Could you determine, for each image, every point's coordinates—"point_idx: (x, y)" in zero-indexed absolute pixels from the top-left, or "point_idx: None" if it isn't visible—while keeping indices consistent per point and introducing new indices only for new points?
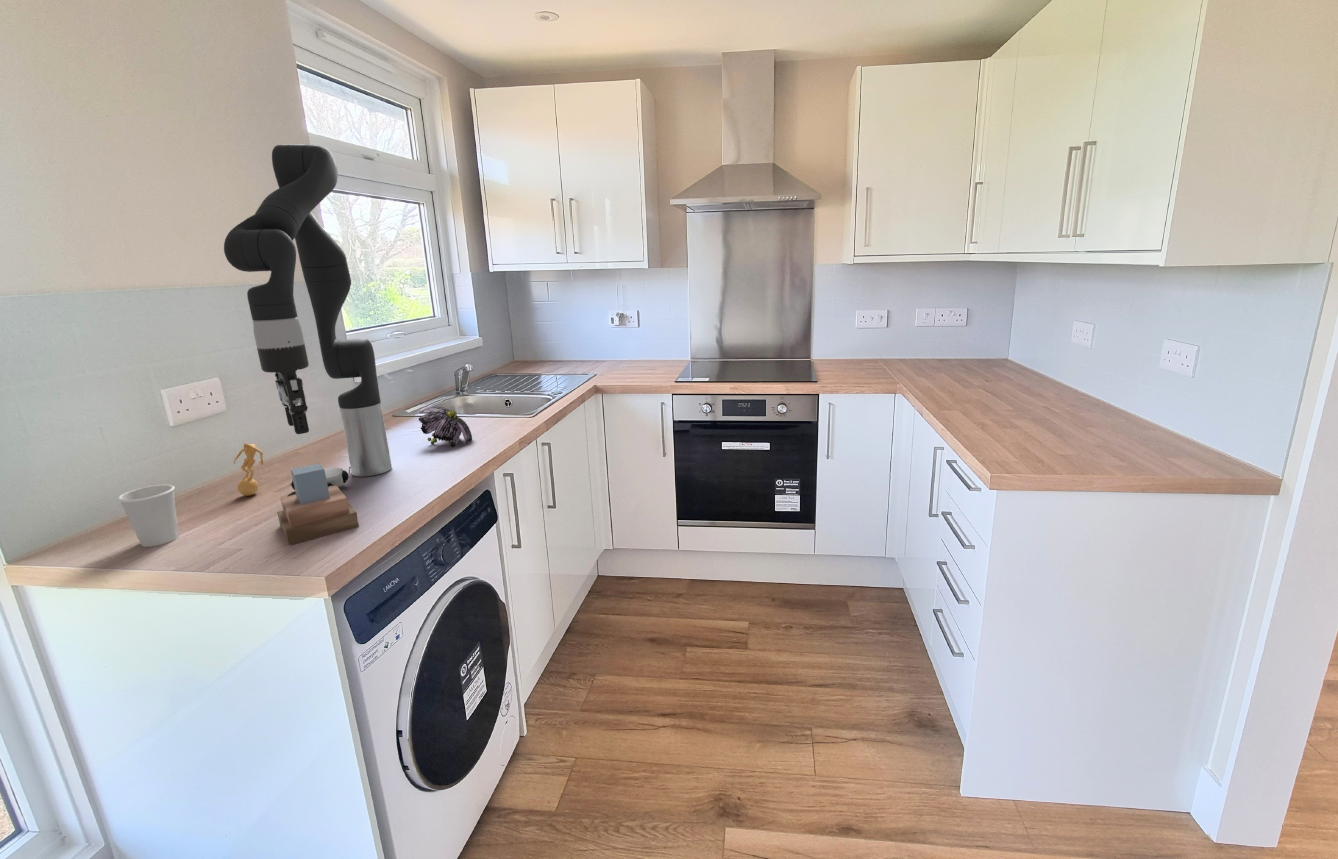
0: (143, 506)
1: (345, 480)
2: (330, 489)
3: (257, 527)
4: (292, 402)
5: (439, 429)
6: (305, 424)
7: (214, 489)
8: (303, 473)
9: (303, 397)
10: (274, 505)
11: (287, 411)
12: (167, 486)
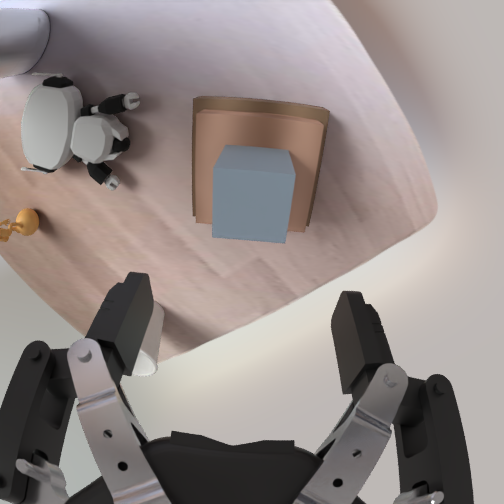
0: (157, 359)
1: (70, 81)
2: (221, 131)
3: (178, 229)
4: (426, 442)
5: None
6: (381, 326)
7: (6, 243)
8: (287, 224)
9: (461, 437)
10: (90, 194)
11: (135, 356)
12: None
